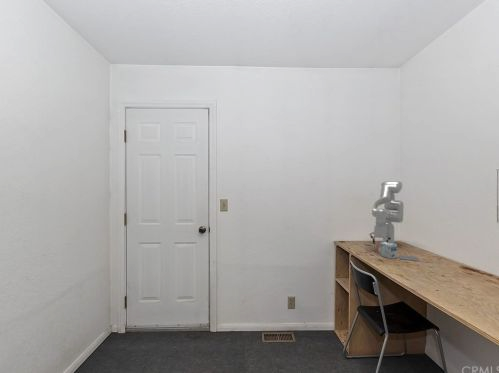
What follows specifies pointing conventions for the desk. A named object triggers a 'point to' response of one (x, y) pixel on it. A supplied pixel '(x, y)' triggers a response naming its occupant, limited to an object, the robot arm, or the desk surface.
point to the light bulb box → (388, 250)
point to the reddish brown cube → (378, 248)
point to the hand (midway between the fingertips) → (380, 244)
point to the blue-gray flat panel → (408, 258)
